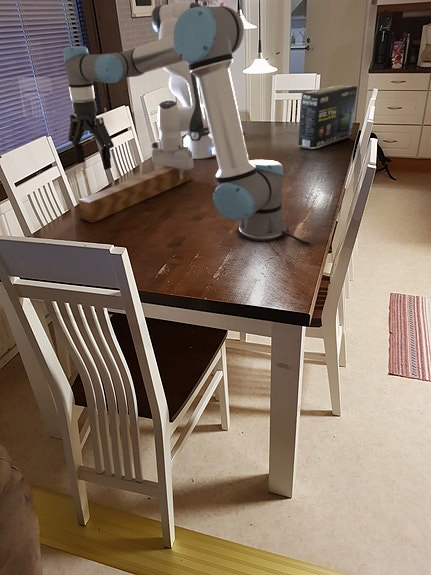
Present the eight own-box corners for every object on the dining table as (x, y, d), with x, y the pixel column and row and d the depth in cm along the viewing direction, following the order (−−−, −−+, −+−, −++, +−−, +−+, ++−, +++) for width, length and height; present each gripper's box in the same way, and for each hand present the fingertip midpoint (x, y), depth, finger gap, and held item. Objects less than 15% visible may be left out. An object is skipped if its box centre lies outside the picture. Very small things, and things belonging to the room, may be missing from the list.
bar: (92, 222, 162) (89, 202, 158) (82, 219, 165) (78, 199, 161) (190, 179, 199) (189, 162, 196) (180, 177, 202) (179, 161, 198)
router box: (314, 151, 231) (318, 94, 217) (296, 148, 237) (299, 92, 224) (352, 138, 251) (358, 85, 238) (335, 135, 258) (340, 83, 245)
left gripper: (195, 145, 184) (197, 179, 191) (158, 139, 195) (161, 171, 202) (185, 149, 180) (188, 183, 187) (147, 143, 190) (151, 175, 197)
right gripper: (119, 101, 144) (127, 168, 155) (68, 95, 157) (79, 157, 168) (100, 105, 139) (111, 174, 150) (49, 99, 152) (62, 162, 163)
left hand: (173, 177), depth 194 cm, fingers closed on bar, 5 cm apart
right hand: (94, 165), depth 159 cm, fingers open, 13 cm apart
